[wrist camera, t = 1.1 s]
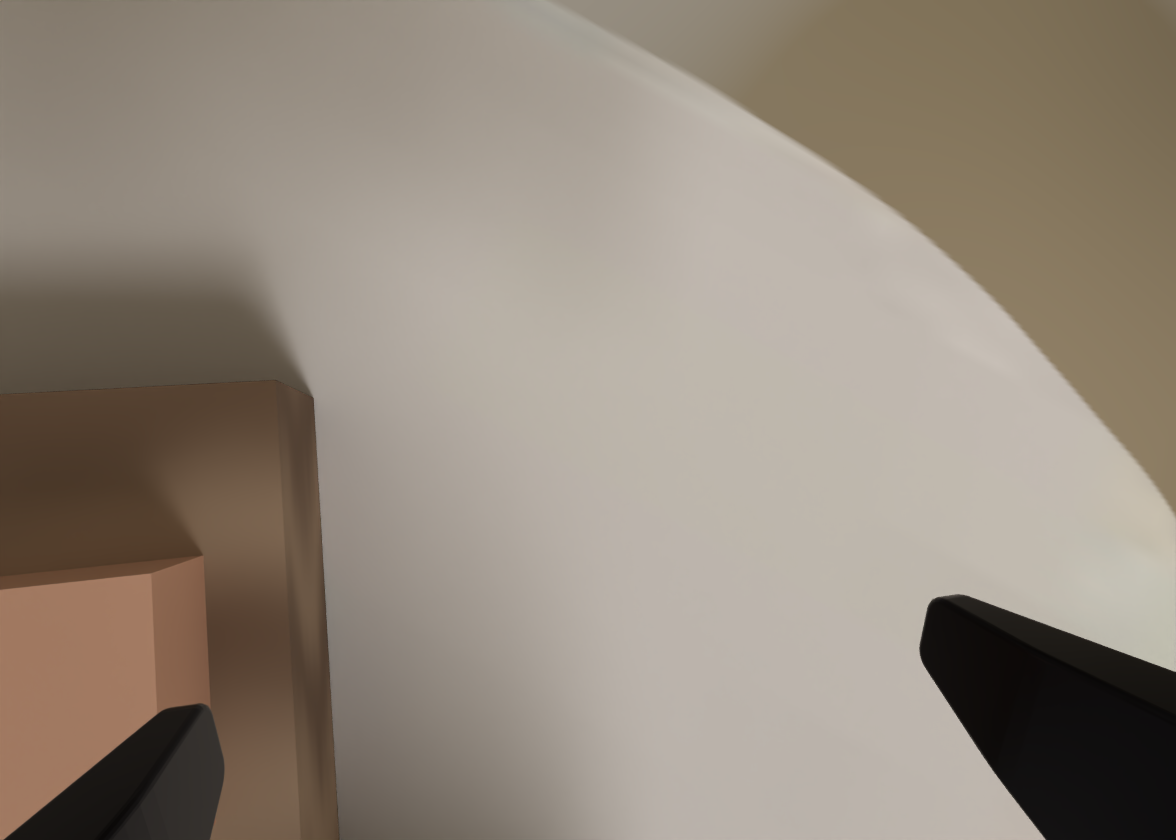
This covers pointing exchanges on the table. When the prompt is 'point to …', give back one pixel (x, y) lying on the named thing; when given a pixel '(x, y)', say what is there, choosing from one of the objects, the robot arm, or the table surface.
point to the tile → (91, 668)
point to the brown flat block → (194, 528)
